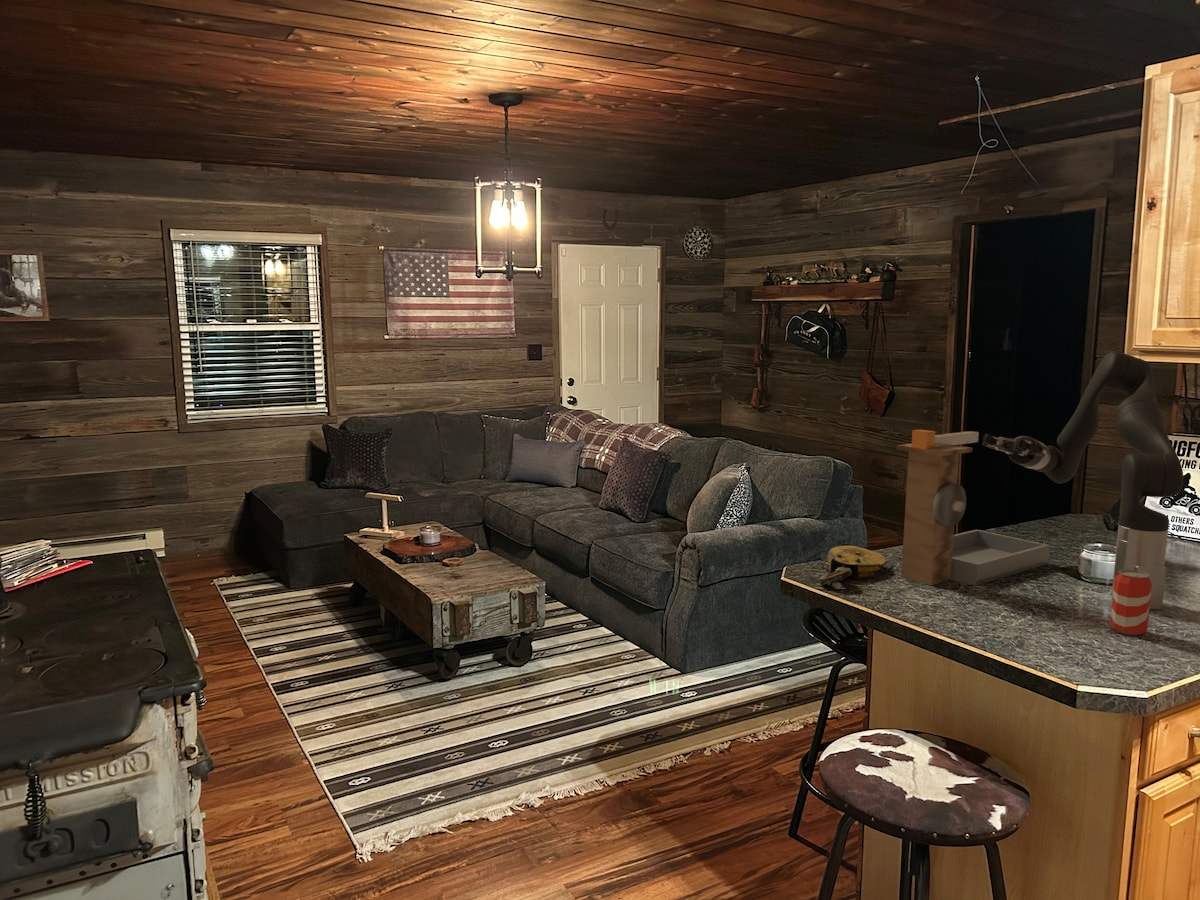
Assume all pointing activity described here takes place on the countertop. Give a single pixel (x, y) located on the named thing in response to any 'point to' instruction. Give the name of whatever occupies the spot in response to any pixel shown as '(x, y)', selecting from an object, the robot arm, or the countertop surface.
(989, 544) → the tray
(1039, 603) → the countertop surface
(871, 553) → the pulley block
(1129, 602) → the beverage can
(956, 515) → the bracket
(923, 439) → the pin
